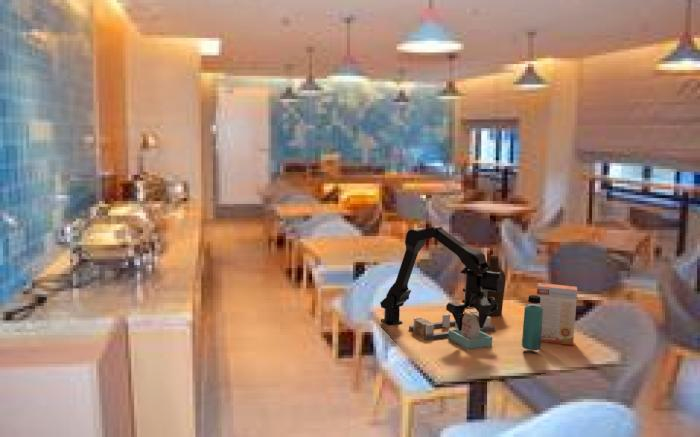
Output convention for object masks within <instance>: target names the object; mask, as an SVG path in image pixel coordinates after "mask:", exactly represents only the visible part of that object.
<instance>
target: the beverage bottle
mask: <svg viewBox="0 0 700 437" xmlns="http://www.w3.org/2000/svg"><path fill="white" fill-rule="evenodd" d="M527 302H528V303H529V304H527V305H526V306H524V313H523V323H522V334H521V336H522V338H521V342H522V343H521V346H522V348H523V349H525V350H528V351H539V350H540V349H541V346H542V341H541V339H542V338H541V334H542V333H541V332H542V324H543V323H542V316H543V309H542V307H541V306H539V305H536V303H540V297H539V296H537V294H536V295H535V294H531V295H530V294H529V295H528V300H527Z"/></svg>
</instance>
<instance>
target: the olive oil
mask: <svg viewBox="0 0 700 437" xmlns="http://www.w3.org/2000/svg"><path fill="white" fill-rule="evenodd" d="M489 256H490V257H489V264H488V265H489V267H490V269H491V272H499V273H502V277H503V281H504V286H503V289H502V291H501V292H494V291H489V290H484V289H483V288H481V290H482V291H484V297H485V298H490V297H493V298H494V299H495V301H496V303H497V310H494V312H492V313H490V314H489V315H488V316H489V317H500V316H502V314H503V305H504V296H505V289H506V288H505V287H506V280H507V278H506V273H505V271H504V270H503V269H502V268H501V266H500V265H499V255H498V254H490V255H489Z"/></svg>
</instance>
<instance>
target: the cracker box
mask: <svg viewBox="0 0 700 437" xmlns="http://www.w3.org/2000/svg"><path fill="white" fill-rule="evenodd" d="M536 296H539V297H540V303H535V304H536V305H539V306H541V307H542V309H543V316H542V323H543V324H542V332H541V333H542V334H541V338H542V339H541V342H544V343H552V344H561V345H567V346H573V345H574V338H575V336H574V334H575V326H576V313H577V300H578V286H572V285H561V284H552V283H544V282H542V283H541V282H538V283H537V288H536Z"/></svg>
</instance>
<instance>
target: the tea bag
mask: <svg viewBox="0 0 700 437" xmlns="http://www.w3.org/2000/svg"><path fill="white" fill-rule="evenodd" d="M463 314H465V315H464V316H463V320H462V330H461V331H460V333H459V334H460V335H462V336H464V337H465V338H467V339H469V340H470V339H477V338H479V331H480V327H479V324H478V321H477V317H476V316H474V315H472V314H470V312H467V311H464V313H463Z"/></svg>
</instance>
